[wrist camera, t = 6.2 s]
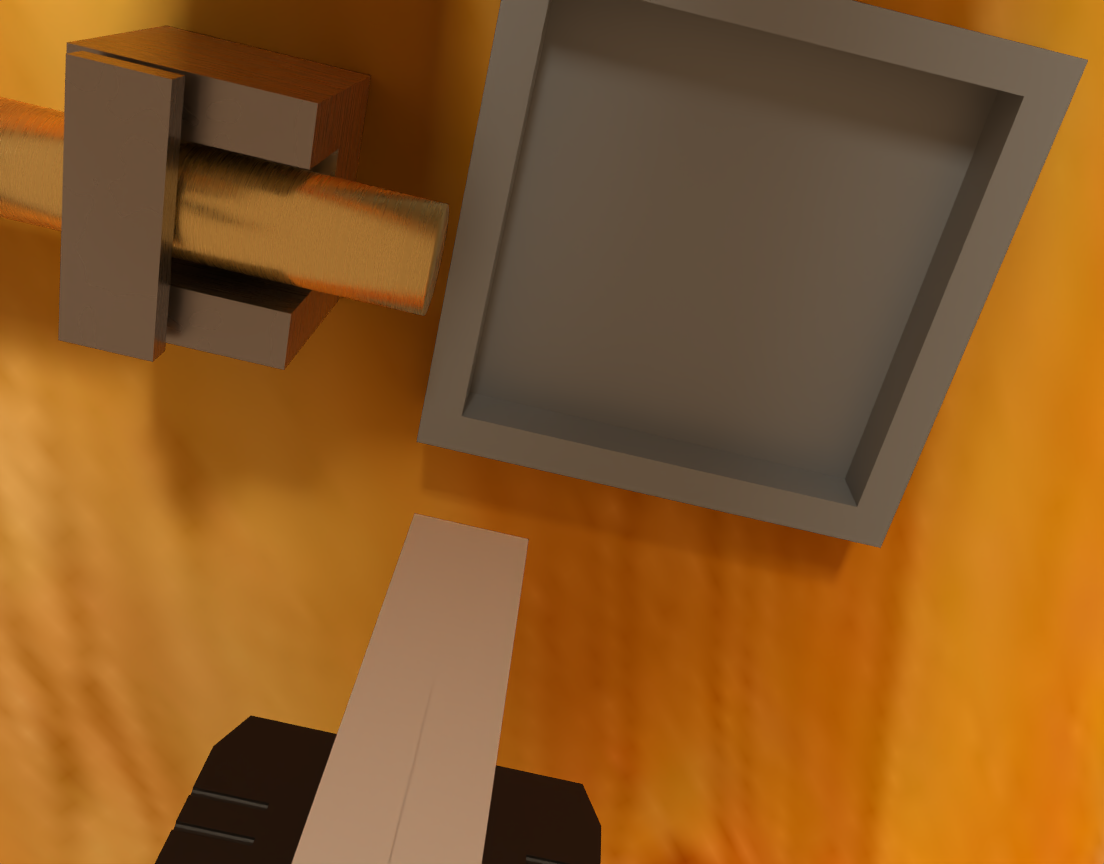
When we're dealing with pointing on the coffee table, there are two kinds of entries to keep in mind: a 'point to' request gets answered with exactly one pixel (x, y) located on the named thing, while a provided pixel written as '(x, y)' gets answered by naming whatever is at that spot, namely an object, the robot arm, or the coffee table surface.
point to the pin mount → (151, 187)
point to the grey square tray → (733, 246)
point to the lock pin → (254, 216)
